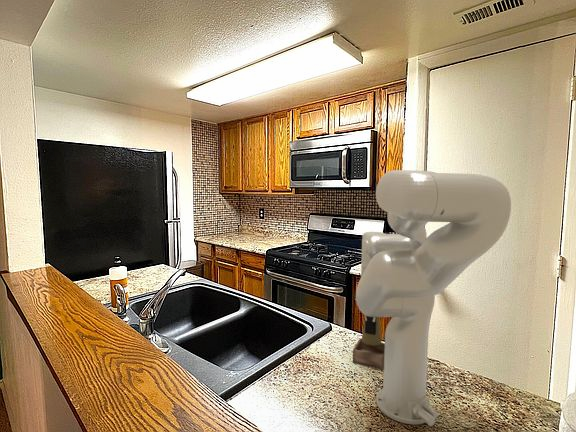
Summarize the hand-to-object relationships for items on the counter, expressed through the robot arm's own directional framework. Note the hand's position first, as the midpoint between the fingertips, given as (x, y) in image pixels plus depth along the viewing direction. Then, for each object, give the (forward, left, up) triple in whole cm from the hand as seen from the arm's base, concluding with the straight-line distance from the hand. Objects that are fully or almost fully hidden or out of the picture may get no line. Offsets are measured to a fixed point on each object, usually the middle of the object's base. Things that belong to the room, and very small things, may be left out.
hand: (371, 330), depth 95 cm
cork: (0, 0, -3) cm, 3 cm away
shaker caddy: (0, 0, -9) cm, 9 cm away
